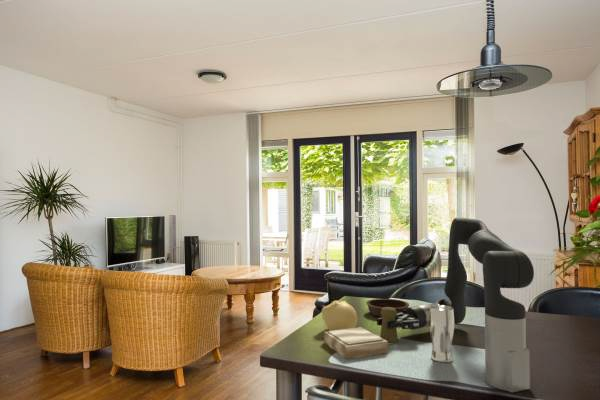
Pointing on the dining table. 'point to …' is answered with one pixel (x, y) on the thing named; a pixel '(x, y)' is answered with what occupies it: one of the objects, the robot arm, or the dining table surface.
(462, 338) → the dining table surface
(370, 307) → the dish
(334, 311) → the sculpture
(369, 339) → the wooden stand
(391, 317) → the brown tall waisted piece
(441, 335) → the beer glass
